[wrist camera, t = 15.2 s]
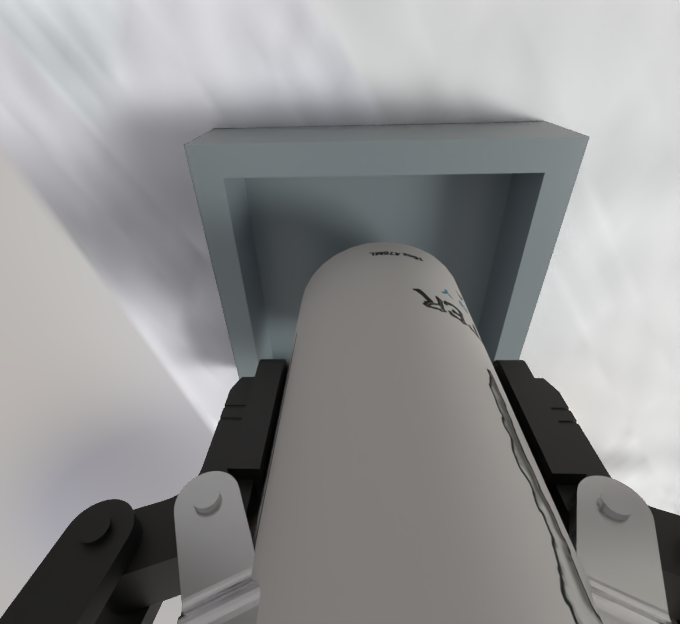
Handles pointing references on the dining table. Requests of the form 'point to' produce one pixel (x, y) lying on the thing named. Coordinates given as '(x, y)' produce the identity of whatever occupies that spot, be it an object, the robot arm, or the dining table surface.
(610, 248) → the dining table surface
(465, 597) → the energy drink can
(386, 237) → the tray
